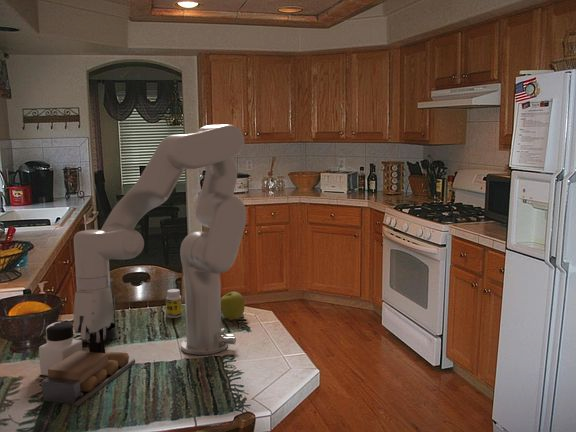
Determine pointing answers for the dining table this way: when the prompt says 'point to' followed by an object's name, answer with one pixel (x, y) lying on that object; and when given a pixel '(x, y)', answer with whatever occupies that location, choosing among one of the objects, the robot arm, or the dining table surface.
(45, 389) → the block
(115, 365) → the track
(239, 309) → the apple
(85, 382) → the roller
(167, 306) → the supplement bottle
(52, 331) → the medicine bottle
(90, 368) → the slab
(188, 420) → the dining table surface
